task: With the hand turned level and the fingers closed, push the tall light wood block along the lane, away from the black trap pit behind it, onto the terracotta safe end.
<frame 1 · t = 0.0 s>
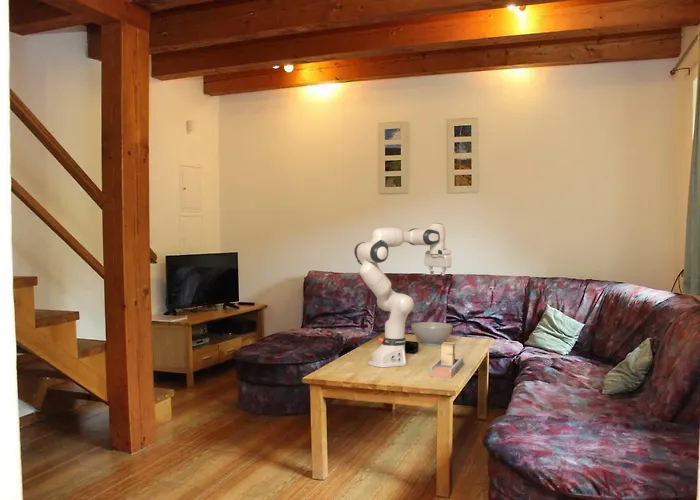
hand: (437, 274, 353), 48 cm above the table, tool pointing down, fingers open, 8 cm apart
end cap: (409, 352, 366), on the table
decorative bowl: (431, 344, 394), on the table
lane: (447, 369, 321), on the table
block: (448, 364, 321), point 3 cm above the table, touching lane
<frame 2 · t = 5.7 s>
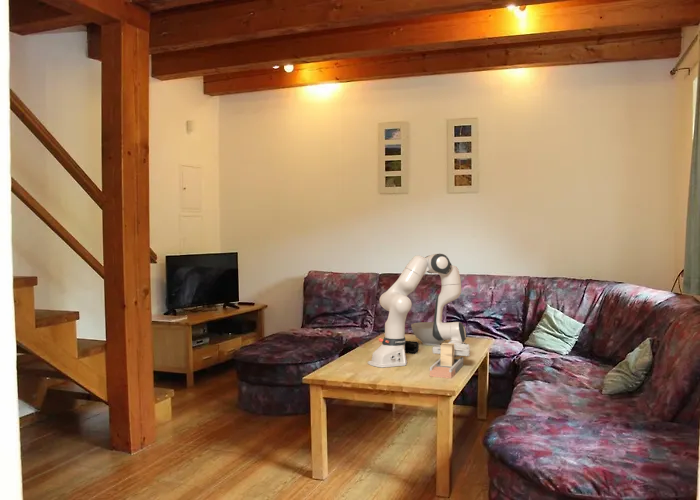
hand: (448, 353, 322), 8 cm above the table, tool horizontal, fingers closed, pressing on block
block: (447, 364, 319), point 3 cm above the table, touching gripper, lane
everything else where it was.
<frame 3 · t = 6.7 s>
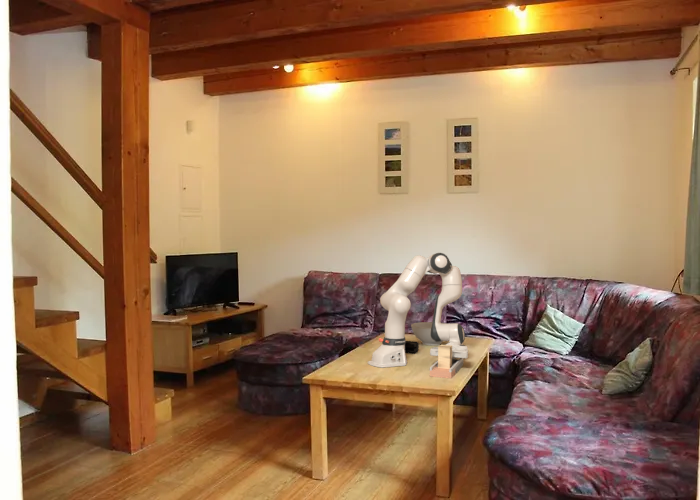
hand: (446, 355, 316), 9 cm above the table, tool horizontal, fingers closed
block: (445, 367, 314), point 3 cm above the table
everything else where it was.
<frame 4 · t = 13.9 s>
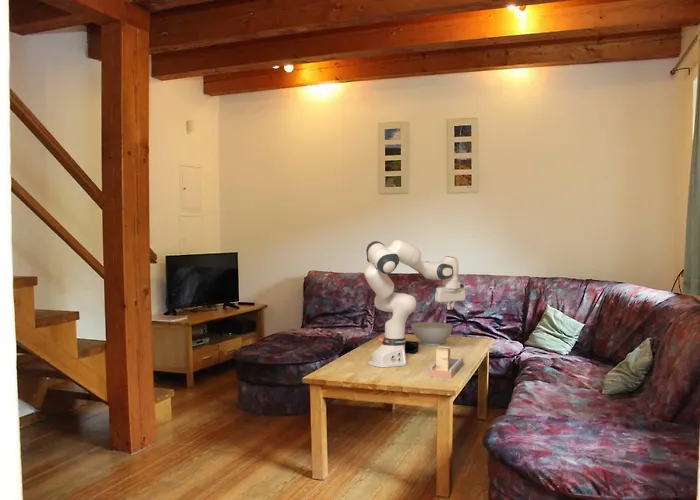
hand: (450, 309, 343), 29 cm above the table, tool pointing down, fingers closed
block: (443, 369, 309), point 3 cm above the table, touching lane
everything else where it was.
at the end: block inside the target area on the lane (0.9 cm from its centre), point 3.0 cm above the lane's base; block tilted 0°; block moved 12.4 cm from its start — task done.
